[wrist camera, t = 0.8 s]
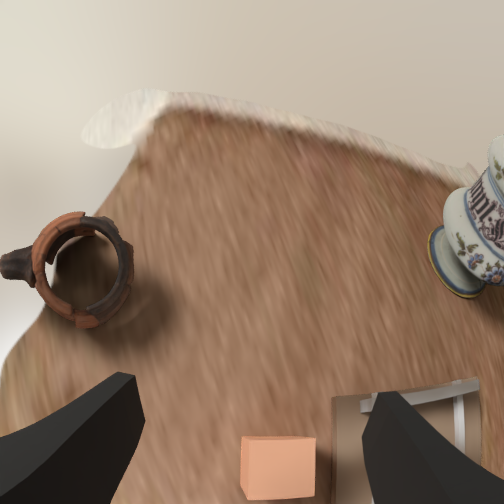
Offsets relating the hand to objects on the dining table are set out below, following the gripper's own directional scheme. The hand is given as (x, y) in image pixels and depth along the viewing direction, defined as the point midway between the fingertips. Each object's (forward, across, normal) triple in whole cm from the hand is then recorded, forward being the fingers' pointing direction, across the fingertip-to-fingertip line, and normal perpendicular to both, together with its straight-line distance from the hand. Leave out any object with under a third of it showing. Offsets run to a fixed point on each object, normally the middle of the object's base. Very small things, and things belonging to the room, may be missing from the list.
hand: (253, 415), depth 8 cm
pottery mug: (+15, +16, +3) cm, 23 cm away
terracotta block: (+8, -1, +13) cm, 15 cm away
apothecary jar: (+25, -23, +2) cm, 34 cm away
